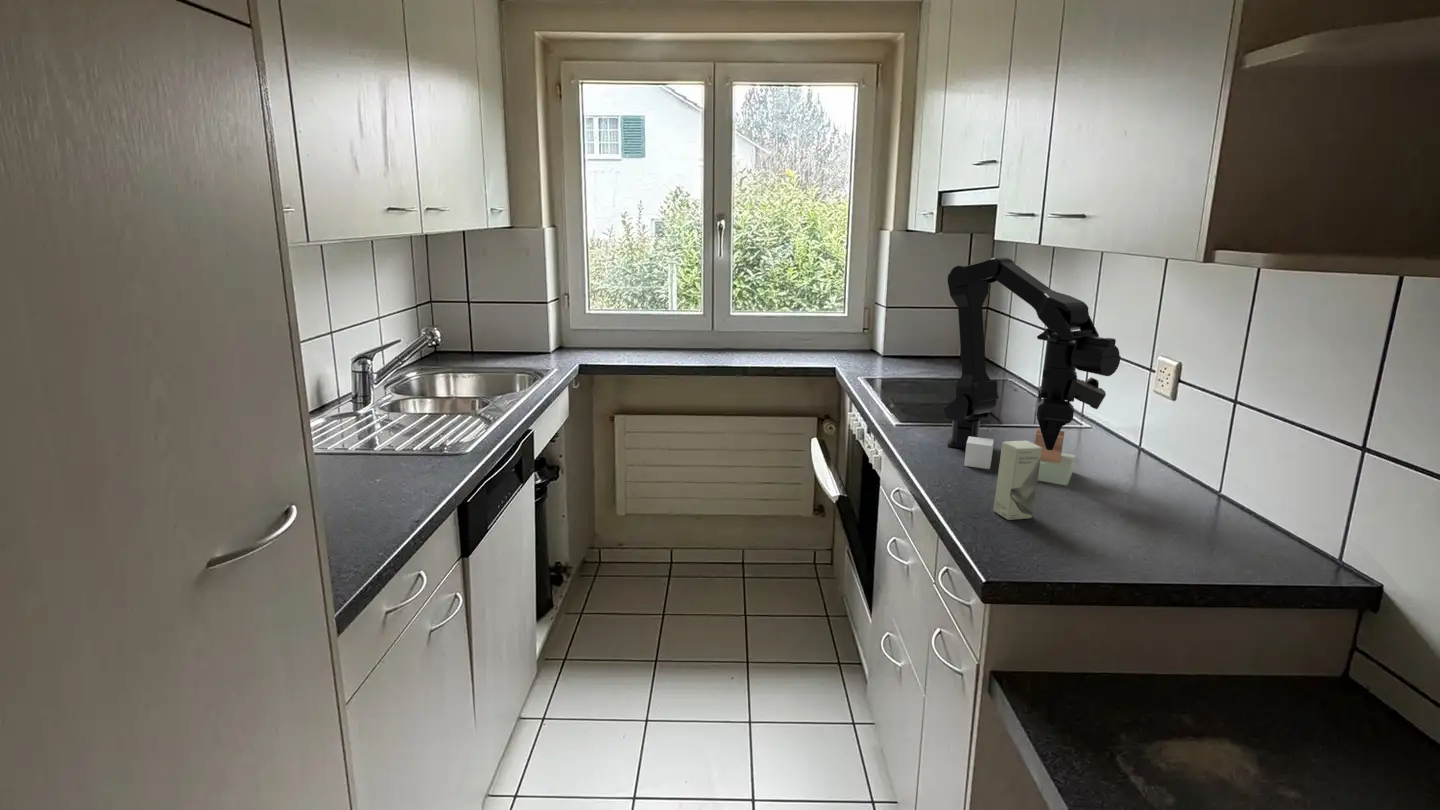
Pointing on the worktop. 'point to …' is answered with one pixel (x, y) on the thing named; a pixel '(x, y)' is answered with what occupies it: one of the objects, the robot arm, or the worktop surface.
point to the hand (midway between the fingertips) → (1049, 443)
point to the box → (1017, 479)
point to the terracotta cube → (1050, 454)
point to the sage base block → (1057, 470)
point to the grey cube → (979, 452)
